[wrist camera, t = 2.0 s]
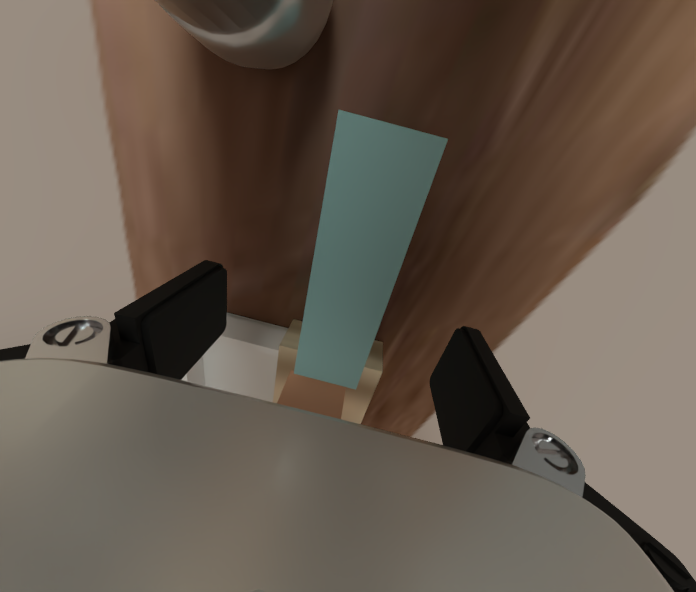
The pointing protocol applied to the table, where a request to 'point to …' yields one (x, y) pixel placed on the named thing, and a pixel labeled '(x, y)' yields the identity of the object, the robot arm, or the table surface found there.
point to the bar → (362, 241)
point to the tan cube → (313, 395)
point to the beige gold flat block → (353, 399)
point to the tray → (241, 359)
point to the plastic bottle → (253, 28)
